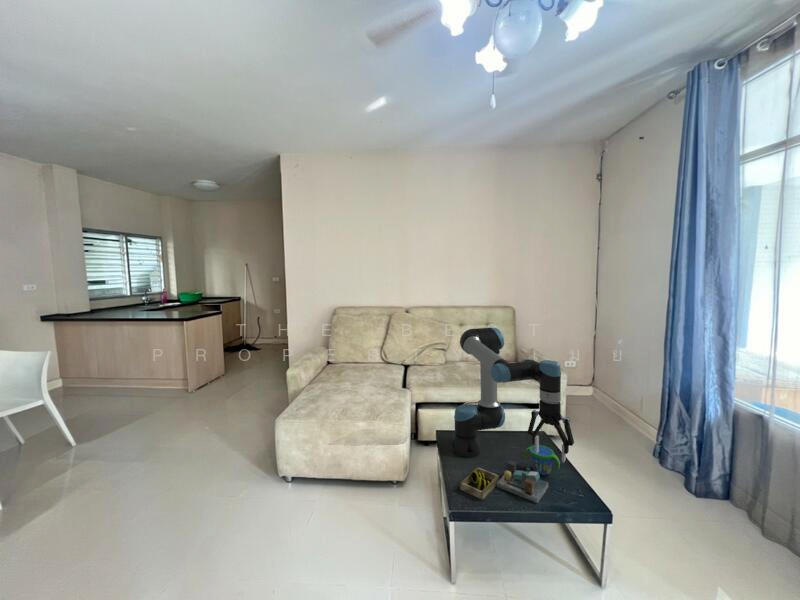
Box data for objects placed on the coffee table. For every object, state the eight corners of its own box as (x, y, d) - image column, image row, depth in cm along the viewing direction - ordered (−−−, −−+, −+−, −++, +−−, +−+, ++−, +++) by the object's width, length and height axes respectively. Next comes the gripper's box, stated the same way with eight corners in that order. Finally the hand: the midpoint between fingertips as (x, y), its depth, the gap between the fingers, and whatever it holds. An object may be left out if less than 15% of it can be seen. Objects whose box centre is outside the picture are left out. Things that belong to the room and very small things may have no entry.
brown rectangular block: (524, 490, 134) (524, 481, 134) (527, 487, 137) (527, 478, 136) (531, 493, 132) (531, 484, 132) (534, 490, 135) (534, 480, 135)
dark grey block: (507, 471, 148) (507, 463, 148) (510, 468, 151) (510, 460, 150) (513, 474, 146) (513, 465, 146) (516, 471, 149) (516, 462, 149)
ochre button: (503, 478, 144) (503, 472, 143) (505, 475, 146) (505, 469, 146) (509, 480, 142) (509, 475, 141) (512, 477, 144) (512, 472, 144)
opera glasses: (489, 493, 138) (491, 482, 138) (478, 492, 137) (480, 481, 137) (480, 480, 147) (482, 469, 147) (469, 479, 146) (471, 468, 146)
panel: (497, 486, 141) (496, 471, 141) (510, 472, 152) (509, 458, 152) (537, 503, 130) (537, 486, 130) (548, 486, 141) (548, 471, 140)
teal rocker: (514, 478, 143) (512, 473, 143) (517, 474, 146) (516, 469, 146) (536, 481, 136) (535, 475, 137) (539, 477, 139) (538, 471, 140)
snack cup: (563, 473, 150) (563, 451, 150) (554, 483, 143) (554, 460, 142) (529, 460, 161) (529, 440, 161) (520, 469, 154) (520, 448, 154)
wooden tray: (460, 489, 140) (460, 482, 140) (477, 473, 152) (477, 467, 151) (482, 499, 133) (482, 492, 133) (499, 482, 145) (499, 475, 144)
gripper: (518, 397, 132) (518, 451, 133) (579, 410, 117) (578, 470, 118) (525, 392, 138) (525, 444, 139) (583, 404, 123) (583, 462, 124)
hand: (549, 456), depth 129 cm, fingers open, 9 cm apart
